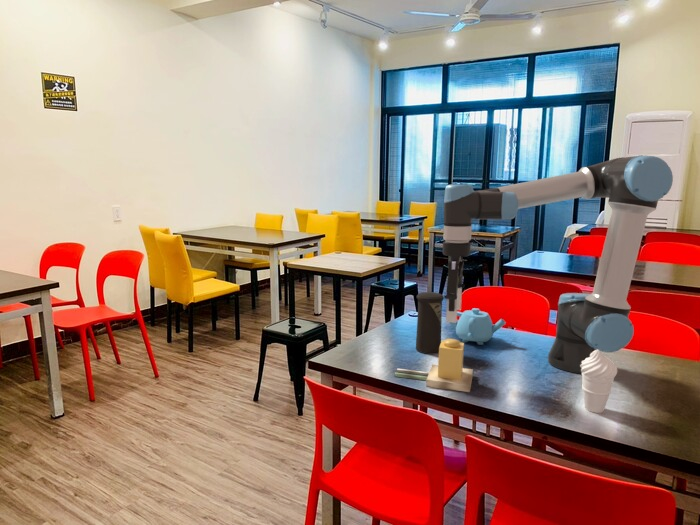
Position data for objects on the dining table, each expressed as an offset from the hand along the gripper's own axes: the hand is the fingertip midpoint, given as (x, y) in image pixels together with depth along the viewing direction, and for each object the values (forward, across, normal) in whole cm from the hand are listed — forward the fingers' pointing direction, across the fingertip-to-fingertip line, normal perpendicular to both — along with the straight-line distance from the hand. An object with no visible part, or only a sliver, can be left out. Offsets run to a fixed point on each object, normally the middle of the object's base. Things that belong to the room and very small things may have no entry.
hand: (453, 315), depth 137 cm
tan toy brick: (+18, 0, 0) cm, 18 cm away
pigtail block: (+20, 0, -5) cm, 20 cm away
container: (+20, -24, -10) cm, 33 cm away
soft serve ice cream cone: (+20, +6, +37) cm, 42 cm away
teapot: (+20, -40, +5) cm, 45 cm away
